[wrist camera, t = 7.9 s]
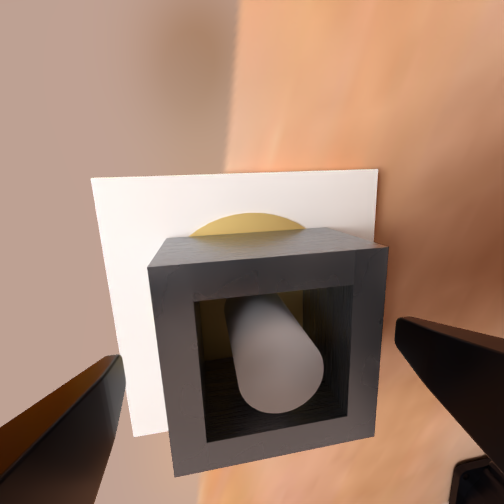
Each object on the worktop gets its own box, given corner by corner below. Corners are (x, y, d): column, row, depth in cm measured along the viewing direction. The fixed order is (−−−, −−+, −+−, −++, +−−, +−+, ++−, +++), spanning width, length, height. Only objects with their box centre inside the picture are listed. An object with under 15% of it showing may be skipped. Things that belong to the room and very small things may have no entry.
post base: (353, 382, 15) (436, 488, 10) (138, 418, 13) (97, 572, 8) (364, 170, 12) (485, 157, 7) (100, 178, 11) (2, 170, 5)
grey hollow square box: (323, 363, 13) (374, 436, 9) (182, 384, 12) (174, 477, 8) (326, 227, 12) (388, 246, 8) (166, 238, 10) (147, 267, 7)
